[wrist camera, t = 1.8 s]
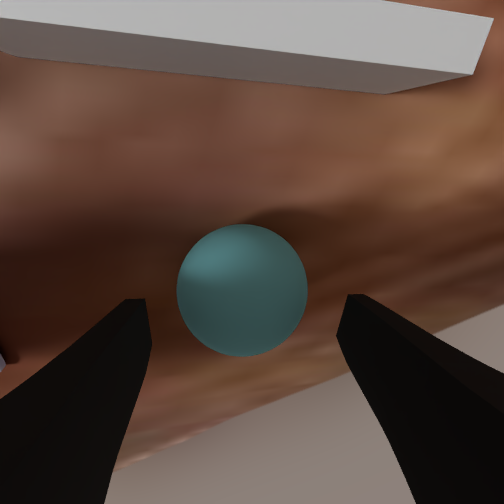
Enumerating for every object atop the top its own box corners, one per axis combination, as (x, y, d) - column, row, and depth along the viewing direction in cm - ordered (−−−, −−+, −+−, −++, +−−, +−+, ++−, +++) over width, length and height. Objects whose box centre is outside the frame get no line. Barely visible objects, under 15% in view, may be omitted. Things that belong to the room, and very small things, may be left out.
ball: (187, 301, 14) (171, 394, 9) (181, 206, 11) (154, 262, 6) (281, 298, 15) (314, 383, 10) (294, 209, 12) (347, 261, 7)
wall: (16, 57, 8) (-132, 1, 5) (2, 10, 8) (-175, -90, 4) (385, 94, 10) (472, 74, 7) (394, 59, 10) (494, 18, 6)
